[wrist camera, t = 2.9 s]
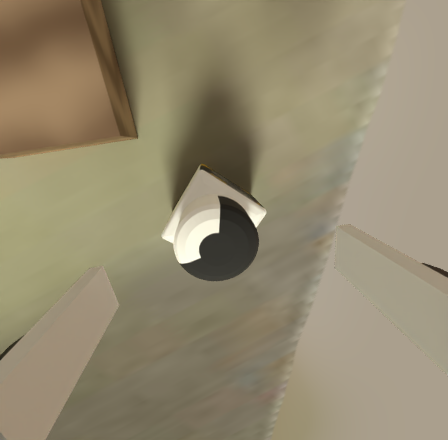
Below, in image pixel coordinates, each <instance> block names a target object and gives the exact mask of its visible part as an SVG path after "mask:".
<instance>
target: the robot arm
mask: <svg viewBox="0 0 448 440" xmlns="http://www.w3.org/2000/svg"><path fill="white" fill-rule="evenodd" d="M335 269H336V270H337V271H338V272H340V273H341V275H342V276H344V277H345V278H346V279H347V280H348V281H349V282H350V283H351V284H352V285H353V286H354V287H355V288H356V289H357V290H358V291H359V292H360V293H361V294H362V295H363V296H364V297H365V298H367V299H368V300H369V301H370V302H371V303H372V304H373V305H374V306H375V307H376V308H377V309H378V310H379V311H380V312H381V313H382V314H383V315H385V317H386V318H387V319H389V320H390V321H391V322H392V323H393V324H394V325H395V326H396V327H397V328H398V329H399V330H400V331H401V332H402V333H403V334H404V335H405V336H406V337H407V338H408V339H409V340H411V341H412V342H413V343H414V344H415V345H416V346H417V347H418V348H419V349H420V350H421V351H422V352H423V353H424V354H425V355H426V356H427V357H428V358H429V359H430V360H431V361H433V362H434V363H435V364H436V365H437V366H438V367H439V368H440V369H441V370H442V371H443V372H444V373H445V374H446V375H447V376H448V272H446V271H444V270H442V269H440V268H437V267H434V266H431V265H428V264H425V263H419V262H418V261H416V260H414V259H412V258H411V257H409V256H407V255H405V254H403V253H401V252H400V251H398V250H396V249H394V248H392V247H390V246H389V245H387V244H385V243H383V242H381V241H379V240H377V239H375V238H374V237H372V236H370V235H369V234H367V233H365V232H363V231H361V230H359V229H358V228H356V227H354V226H352V225H350V224H347V225H340V226H336V241H335ZM118 307H119V304H118V301H117V299H116V296H115V294H114V291H113V289H112V286H111V284H110V281H109V279H108V276H107V274H106V272H105V269H104V267H103V266H99V267H93V268H89V269H88V270H87V271H86V272H85V273H84V274H83V275H82V276H81V277H80V278H79V279H78V280H77V281H76V282H75V283H74V284H73V286H72V287H71V288H70V289H69V290H68V291H67V292H66V293H65V294H64V295H63V296H62V297H61V298H60V299H59V300H58V301H57V302H56V303H55V304H54V305H53V306H52V307H51V308H50V309H49V310H48V312H47V313H46V314H45V315H44V316H43V317H42V318H41V319H40V320H39V321H38V322H37V323H36V324H35V325H34V326H33V327H32V328H31V329H30V330H29V331H28V332H27V333H26V334H25V335H24V336H22V337H21V338H20V339H18V340H17V341H16V342H14V343H13V344H12V345H10V346H9V347H8V348H7V349H6V350H5V351H4V352H3V353H2V354H1V355H0V440H45V439H46V438H47V436H48V434H49V432H50V430H51V429H52V427H53V425H54V423H55V421H56V419H57V418H58V416H59V414H60V412H61V410H62V409H63V407H64V405H65V403H66V401H67V399H68V398H69V396H70V394H71V392H72V390H73V389H74V387H75V385H76V383H77V381H78V379H79V378H80V376H81V374H82V372H83V370H84V368H85V367H86V365H87V363H88V361H89V359H90V358H91V356H92V354H93V352H94V350H95V348H96V347H97V345H98V343H99V341H100V339H101V338H102V336H103V334H104V332H105V330H106V328H107V327H108V325H109V323H110V321H111V319H112V318H113V316H114V314H115V312H116V310H117V308H118Z"/></svg>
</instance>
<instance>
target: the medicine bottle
mask: <svg viewBox="0 0 448 440" xmlns="http://www.w3.org/2000/svg"><path fill="white" fill-rule="evenodd" d="M265 215H266V209H265V208H264V207H263V206H262V205H261V204H260V203H259V202H258V201H257V200H256V199H255V198H254V197H253V196H252V195H251V194H250V193H248V192H247V191H245V190H243V189H242V188H240V187H239V186H237V185H236V184H234V183H232V182H231V181H229V180H228V179H226V178H225V177H223V176H221V175H220V174H218V173H217V172H215V171H214V170H212V169H210V168H209V167H207V166H206V165H204V164H200V165H199V167H198V169H197V171H196V172H195V174H194V176H193V177H192V179H191V181H190V183H189V184H188V186H187V188H186V189H185V191H184V193H183V195H182V196H181V198H180V200H179V201H178V203H177V205H176V207H175V208H174V210H173V212H172V214H171V216H170V218H169V220H168V222H167V224H166V226H165V228H164V230H163V232H162V238H163V239H165V240H167V241H169V242H171V243H173V244H174V252H175V255H176V258H177V260H178V262H179V263H180V265H181V266H182V267H183V268H184V269H185V270H186V271H187V272H188V273H190V274H191V275H193V276H195V277H197V278H199V279H203V280H207V281H223V280H227V279H230V278H233V277H235V276H237V275H239V274H240V273H242V272H243V271H244V270H246V269H247V268H248V267H249V266H250V264H251V263H252V262H253V260H254V258H255V256H256V254H257V251H258V245H259V238H258V232H257V229H256V227H257V226H258V224H259V223H260V222H261V220H262V219H263V217H264V216H265Z"/></svg>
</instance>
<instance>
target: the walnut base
mask: <svg viewBox="0 0 448 440" xmlns="http://www.w3.org/2000/svg"><path fill="white" fill-rule="evenodd" d="M137 138H138V136H137V133H136V129H135V125H134V121H133V118H132V114H131V110H130V107H129V103H128V99H127V96H126V92H125V88H124V84H123V81H122V77H121V73H120V70H119V66H118V62H117V58H116V55H115V51H114V47H113V44H112V40H111V36H110V33H109V29H108V25H107V21H106V18H105V14H104V10H103V7H102V3H101V0H0V158H15V157H21V156H28V155H34V154H41V153H47V152H54V151H60V150H66V149H73V148H79V147H86V146H92V145H99V144H105V143H111V142H118V141H124V140H131V139H137Z"/></svg>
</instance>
